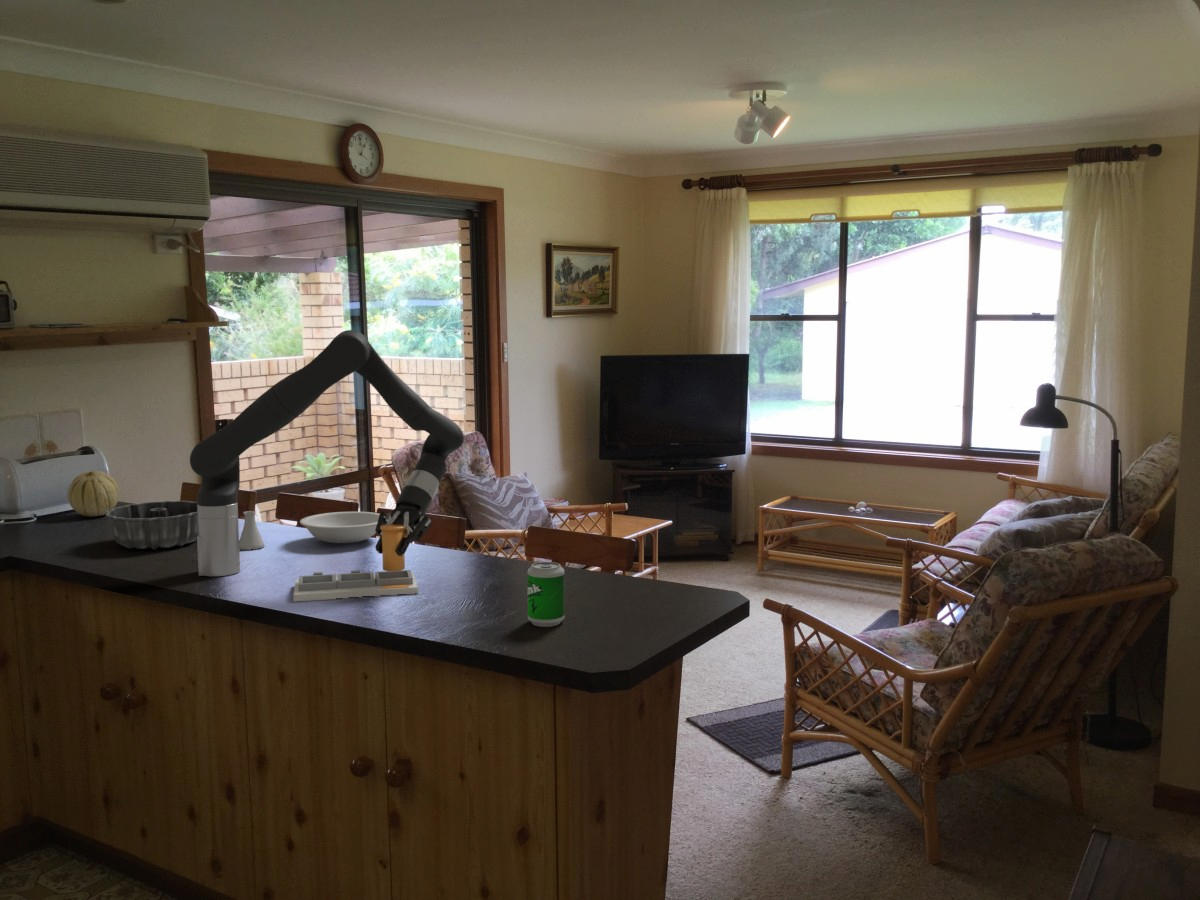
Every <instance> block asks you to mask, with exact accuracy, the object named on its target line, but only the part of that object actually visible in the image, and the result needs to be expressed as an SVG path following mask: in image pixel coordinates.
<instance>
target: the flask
mask: <svg viewBox="0 0 1200 900" xmlns="http://www.w3.org/2000/svg"><path fill="white" fill-rule="evenodd" d="M256 514H257V512H256V511H254V510H247V511H243V515H244V523H243V528H242V531H241V535H240V536H239V551H240V550H242V551H243V550H246V551H249V550H251V549H253V550H260V549H259V548H261V549H263V548H265V542H264V541H263V539H262V536H261V534H260V531H259V528H258V526H257V523H256ZM262 547H263V548H262ZM251 551H252V550H251Z"/></svg>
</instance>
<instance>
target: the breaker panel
mask: <svg viewBox="0 0 1200 900" xmlns="http://www.w3.org/2000/svg"><path fill="white" fill-rule="evenodd" d="M298 577H299V578H298V579H295V583H294V589H293V602H304V601H305V602H306V601H307V602H309V601H322V600H323V601H324V600H337V599H336V598H343V599H349V598H348V597H359V598H363V597H362V596H375V597H381V596H380V595H391V596H398V595H397V594H407V595H416V594H415V593H418V594H419V586H418V582H417V580H416V577H415V573H414V572H412V570H411V569H403V570H400V571H384V570H383V571H375V572H374V571H368V572H367V571H366V572H361V569H355V570H350V573H348V572H346V573H337V574H336V573H332V574H331V573H329V574H323V572H322V571H319V572H317V571H316V572H313V574H311V575H300V576H298Z"/></svg>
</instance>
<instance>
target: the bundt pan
mask: <svg viewBox="0 0 1200 900" xmlns="http://www.w3.org/2000/svg"><path fill="white" fill-rule="evenodd" d="M105 516H106V518H108V522H109V526H110V529H111V534H112V538H113V539H114V540H115V542H116V543H117V544H119V545H120V546H123V547H125V548H127V549H130V550H134V549H133V548H136V549H139V550H147V549H151V550H153V551H156V550H157V549H159V548H162V549H170V548H172V547H177V546H180V547H183V546H184V545H188V544H191V543H193V542H195V541H196V542H197V537H198V514H197V501H190V500H173V501H172V500H162V501H147V502H139V503H133V504H132V503H130V504H127V505H122V506H115V507H114V508H113V509H112V510H110V511H106V514H105Z"/></svg>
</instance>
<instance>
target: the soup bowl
mask: <svg viewBox="0 0 1200 900" xmlns="http://www.w3.org/2000/svg"><path fill="white" fill-rule="evenodd" d="M379 515H380V513H377V512H371V511H336V512H334V511H333V512H325V513H318V514H313V515H310V516H309V515H308V516H305V517H304V518H301V519H300V520H299V523H300V525H301V526H304V527H306V530H307V531H308V532H309V533H310V534H311V535H312V536H313V537H314V538H316V539H317V540H319V541H321V542H325V543H328V544H329V543H330V544H352V543H358V542H361V541H365V540H368V539H370V538H371V537H373V536H374V535H375V534H377V533H376V531H375V530H376V526H377V523H378V519H379Z"/></svg>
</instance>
